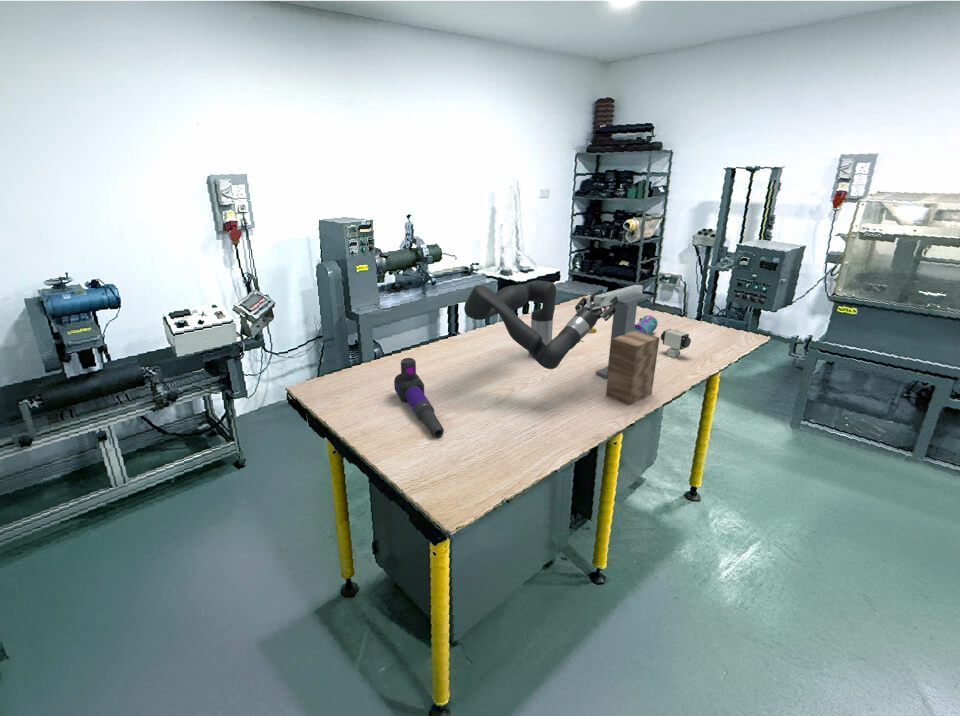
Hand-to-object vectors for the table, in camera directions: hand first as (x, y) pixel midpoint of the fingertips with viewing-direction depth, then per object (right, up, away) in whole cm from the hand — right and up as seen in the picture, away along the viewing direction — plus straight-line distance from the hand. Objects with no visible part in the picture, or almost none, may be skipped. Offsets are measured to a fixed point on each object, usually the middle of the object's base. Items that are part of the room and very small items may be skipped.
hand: (607, 295), depth 178 cm
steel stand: (+10, -29, +20) cm, 37 cm away
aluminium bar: (+6, 0, +5) cm, 8 cm away
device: (-66, -42, -10) cm, 79 cm away
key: (+3, -12, +63) cm, 64 cm away
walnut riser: (+9, -36, +3) cm, 37 cm away
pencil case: (+32, -13, +60) cm, 69 cm away
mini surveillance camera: (+39, -22, +38) cm, 59 cm away
